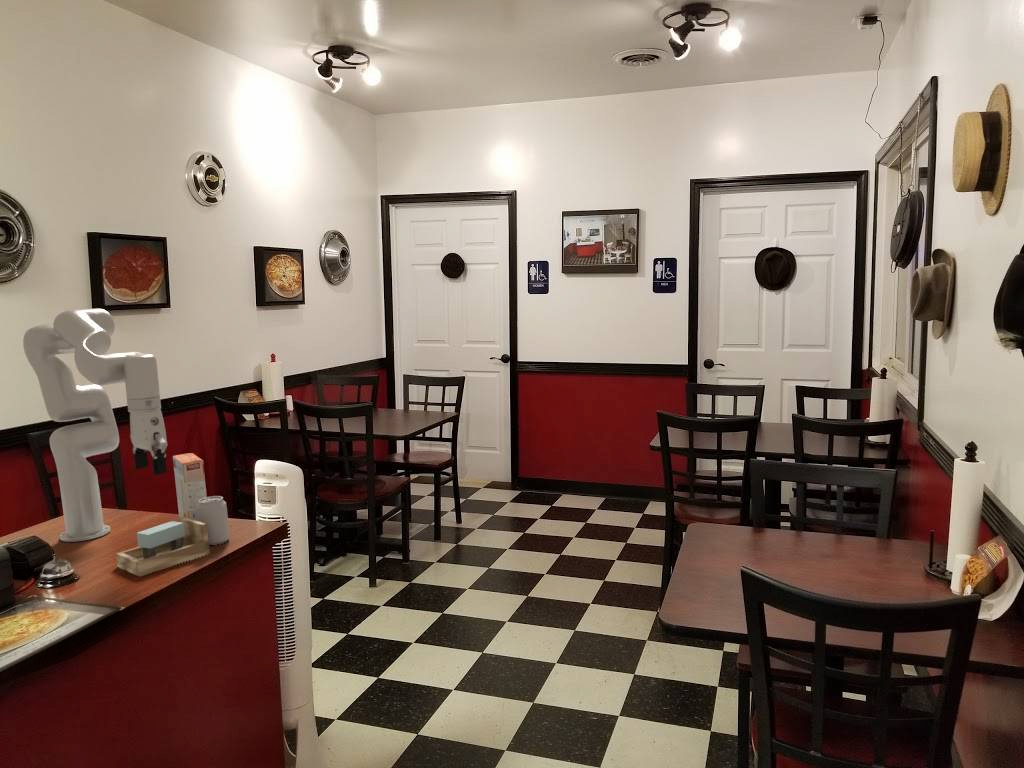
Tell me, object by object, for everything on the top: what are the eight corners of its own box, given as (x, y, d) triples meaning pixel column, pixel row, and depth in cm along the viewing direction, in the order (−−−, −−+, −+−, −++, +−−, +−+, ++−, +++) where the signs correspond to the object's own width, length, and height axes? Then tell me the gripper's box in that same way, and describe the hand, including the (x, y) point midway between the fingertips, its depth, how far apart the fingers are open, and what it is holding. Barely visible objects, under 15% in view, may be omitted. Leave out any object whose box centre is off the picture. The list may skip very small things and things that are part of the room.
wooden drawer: (117, 567, 196) (113, 535, 195) (186, 545, 210) (183, 516, 209) (139, 576, 189) (135, 544, 188) (209, 554, 202) (206, 523, 201)
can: (220, 547, 208) (215, 502, 206) (194, 546, 209) (189, 502, 207) (235, 537, 215) (231, 494, 213) (210, 537, 216) (205, 494, 215)
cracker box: (211, 533, 220) (203, 459, 217) (189, 537, 217) (180, 463, 214) (201, 521, 232) (193, 451, 229) (179, 526, 229) (171, 455, 226)
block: (173, 534, 204) (171, 521, 204) (184, 536, 202) (183, 522, 201) (138, 546, 196) (136, 532, 195) (149, 548, 193) (148, 534, 193)
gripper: (175, 405, 195) (182, 472, 197) (143, 398, 206) (149, 463, 208) (145, 409, 189) (152, 479, 192) (113, 403, 200) (120, 469, 203)
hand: (150, 470), depth 200 cm, fingers open, 9 cm apart
